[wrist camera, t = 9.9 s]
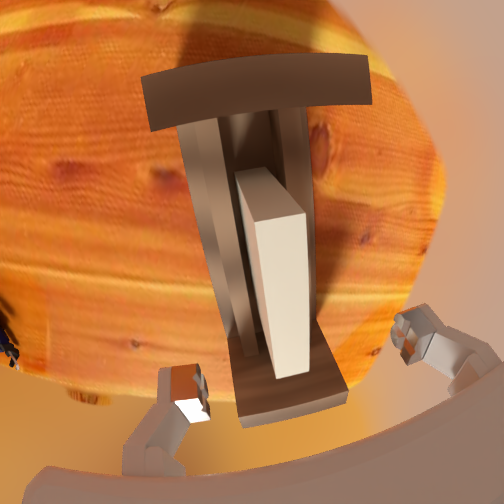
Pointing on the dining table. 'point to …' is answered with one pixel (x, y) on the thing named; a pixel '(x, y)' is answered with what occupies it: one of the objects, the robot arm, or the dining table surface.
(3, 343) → the toy
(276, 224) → the door panel
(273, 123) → the wooden rack
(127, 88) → the dining table surface
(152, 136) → the dining table surface
